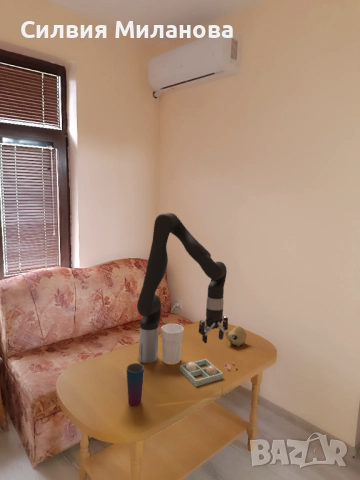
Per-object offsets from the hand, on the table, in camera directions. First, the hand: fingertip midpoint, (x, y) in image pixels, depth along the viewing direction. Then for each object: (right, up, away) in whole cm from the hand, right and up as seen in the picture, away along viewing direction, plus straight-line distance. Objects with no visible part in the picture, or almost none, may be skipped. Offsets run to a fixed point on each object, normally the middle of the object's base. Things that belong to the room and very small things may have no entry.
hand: (212, 340), depth 146 cm
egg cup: (+10, -17, +10) cm, 22 cm away
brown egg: (-1, -17, +2) cm, 17 cm away
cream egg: (-10, -16, +5) cm, 20 cm away
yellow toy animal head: (+16, -14, +36) cm, 41 cm away
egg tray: (-5, -17, +4) cm, 18 cm away
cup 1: (-33, -20, -17) cm, 42 cm away
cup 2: (-19, -15, +16) cm, 29 cm away
